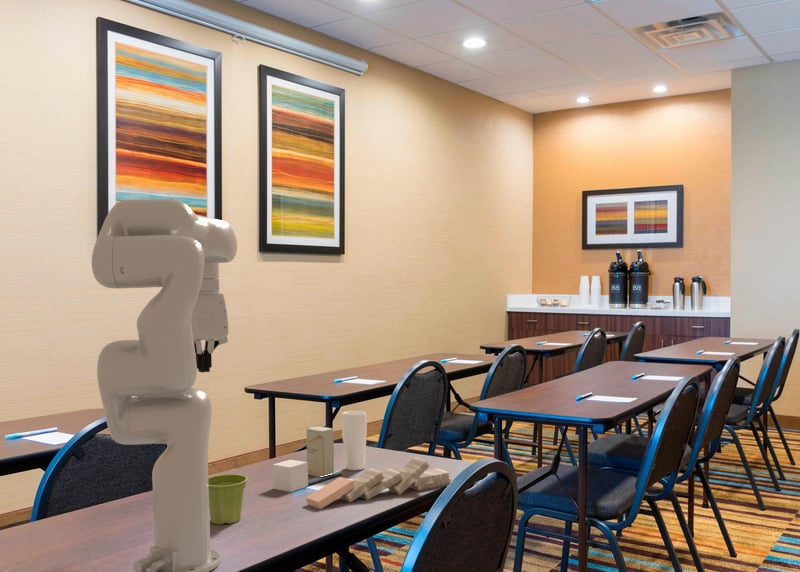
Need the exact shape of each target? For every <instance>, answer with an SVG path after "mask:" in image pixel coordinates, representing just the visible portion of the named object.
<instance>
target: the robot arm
mask: <svg viewBox="0 0 800 572" xmlns="http://www.w3.org/2000/svg"><path fill="white" fill-rule="evenodd" d="M237 241H238V240H237V236H236V233H235V231H234V229H233V228H232V226H231V224H230V223H229V222H227V221H225V220H221V219H218V218H212V217H208V216H204V215H201V214H196V213H195V212H194V211H193V210H192V208H191V207H189V205H188V204H186V203H185V202H183V201H181V200H179V199H173V198H172V199H171V198H151V199H149V198H148V199H145V198H142V199H134V198H133V199H123V200H120V201H118V202H117V203H115V204H114V205H113V207H112V208H111V209H110V210H109V212H108V213H107V215H106V217H105V219H104V221H103V224H102V226H101V228H100V230H99V233H98V236H97V238H96V241H95V243H94V247H93V249H92V254H91V270H92V273H93V277H94V279H95V280H96V281H97V283H98V284H99V285H101V286H103V287H105V288H108V289H141V288H143V289H145V288H146V289H148V288H161V289H160V291H159V292H157V294H155V296H153V297H152V299H150V300H149V301H148V302H147V303H146V305H145V306H144V308H143V309H142V310H141V312H140V314H139V315H138V317H137V319H136V329H137V335H138V336H137V337H138V339H125V340H117V341H112V342H110V343H108V344H106V345H105V346H104V347H102V349H101V351H100V353H99V354H98V359H97V365H96V367H97V368H96V375H97V376H96V377H97V384H98V385H97V386H98V389H99V394H100V395H99V396H100V398H101V402H102V408H103V412H104V415H105V417H104V418H105V420H106V424H107V429H108V432H109V435H110V437H111V438H112V440H113V441H114V442H115V443H117V444H120V445H125V446H126V445H130V446H131V445H134V446H135V445H152V444H155V445H156V444H158V445H159V444H164V445H166V446H167V447H166V448H165V449H164V451H163V452H162V453H161V454H160V455H159V457H158V458H157V460H156V461H155V463H154V464H153V468H152V472H151V473H152V474H151V475H152V476H151V478H152V479H151V481H152V504H153V505H152V510H153V512H152V513H153V538H154V539H153V541H154V543H153V544H154V545H153V546H151V547H149V554H147V556H146V557H142V558H141V559H138V560H136V561H135V562H133V564H132V568H133V570H134V572H144V571H145V572H211V571H213V570H214V569H215V568H217V567H218V566H219V564H220V563H221V562H220V560H221V558H220V554H219V553H218V552H217V551H216V550H213V549H211V528H210V527H211V524H210V523H211V522H210V520H211V518H210V510H209V485H208V478H209V442H210V441H209V439H210V430H211V422H212V401H211V398H210V397H209V395H208V394H207V393H206V392H204V391H203V390H201V389H198V388H196V387H195V388H194V385H195V383H196V381H197V376H198V372H199V373H209V372H211V371H210V370H211V368H212V366H213V365H212V364H213V363H212V362H213V361H212V354H213V353H214V351H215V350H216V348H217V347H218V346H221V345H223V344H227V343H228V342H229V340H228V336H229V320H228V311H227V305H226V299H225V295H224V293H220V270H219V269H220V268H219V264H227V263H230V262H232V261H233V260H234V259H235V257H236V255H237V251H238V242H237ZM202 341H204V347H203V345H202ZM197 371H198V372H197Z"/></svg>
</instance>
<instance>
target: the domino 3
mask: <svg viewBox="0 0 800 572" xmlns="http://www.w3.org/2000/svg"><path fill="white" fill-rule="evenodd" d="M382 474H383V477H384V479H383V480H381V481H380V482H379V483H377V484H376V485H374V486H373V487H372V488H370V489H369V490H367V491H366V492H365V493H363V494H362V495H360V496H359V497H360V498H362V499H363V500H366V501H369V500H371V499H372V498H374V497H376V496H377V495H379V494H381V493H382V492H384V491H386V490H388V488H389V487H391V486H392V485H394V484H396V483H398V482H399V481H401V480H402V477H401V474H400V472H399V471H397V470H394V469H393V468H388V469H386V470H385V471H382Z"/></svg>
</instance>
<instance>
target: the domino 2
mask: <svg viewBox="0 0 800 572" xmlns="http://www.w3.org/2000/svg"><path fill="white" fill-rule="evenodd" d="M382 473H383V471H380V470H377V469H376V468H375V469H374V468H367V470H366V471H364V472H363V473H361V474H360V475H357V477H355V478H354V479H353V483H354V486H355V488H354V489H352V490H351V491H349V492H347V493H346V494H344V495H343V496H341V497H339V498H338V499H341V500H343V501H345V502H347V503H352V502H353V501H355V500H356V499H358V498H359V497H360V495H362V494H363V493H365V492H366V491H367V490H369V489H370V488H372V487H373V486H374V485H376V484H377V483H379V482H380V481H381V480H383V479H384V477H383V474H382Z"/></svg>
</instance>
